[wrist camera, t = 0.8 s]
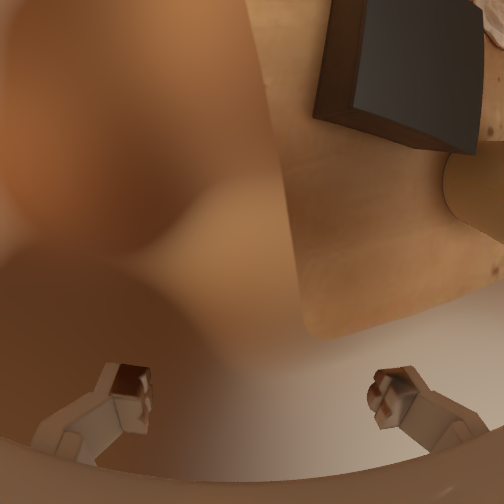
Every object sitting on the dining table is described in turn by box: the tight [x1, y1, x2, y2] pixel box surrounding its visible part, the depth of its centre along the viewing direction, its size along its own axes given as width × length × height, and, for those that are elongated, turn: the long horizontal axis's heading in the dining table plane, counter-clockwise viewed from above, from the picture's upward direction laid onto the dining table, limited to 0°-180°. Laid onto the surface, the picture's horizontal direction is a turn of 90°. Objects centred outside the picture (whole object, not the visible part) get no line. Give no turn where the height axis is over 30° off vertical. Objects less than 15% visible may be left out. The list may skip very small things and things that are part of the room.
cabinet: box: [313, 0, 484, 156], centre depth 21 cm, size 15×12×10 cm
